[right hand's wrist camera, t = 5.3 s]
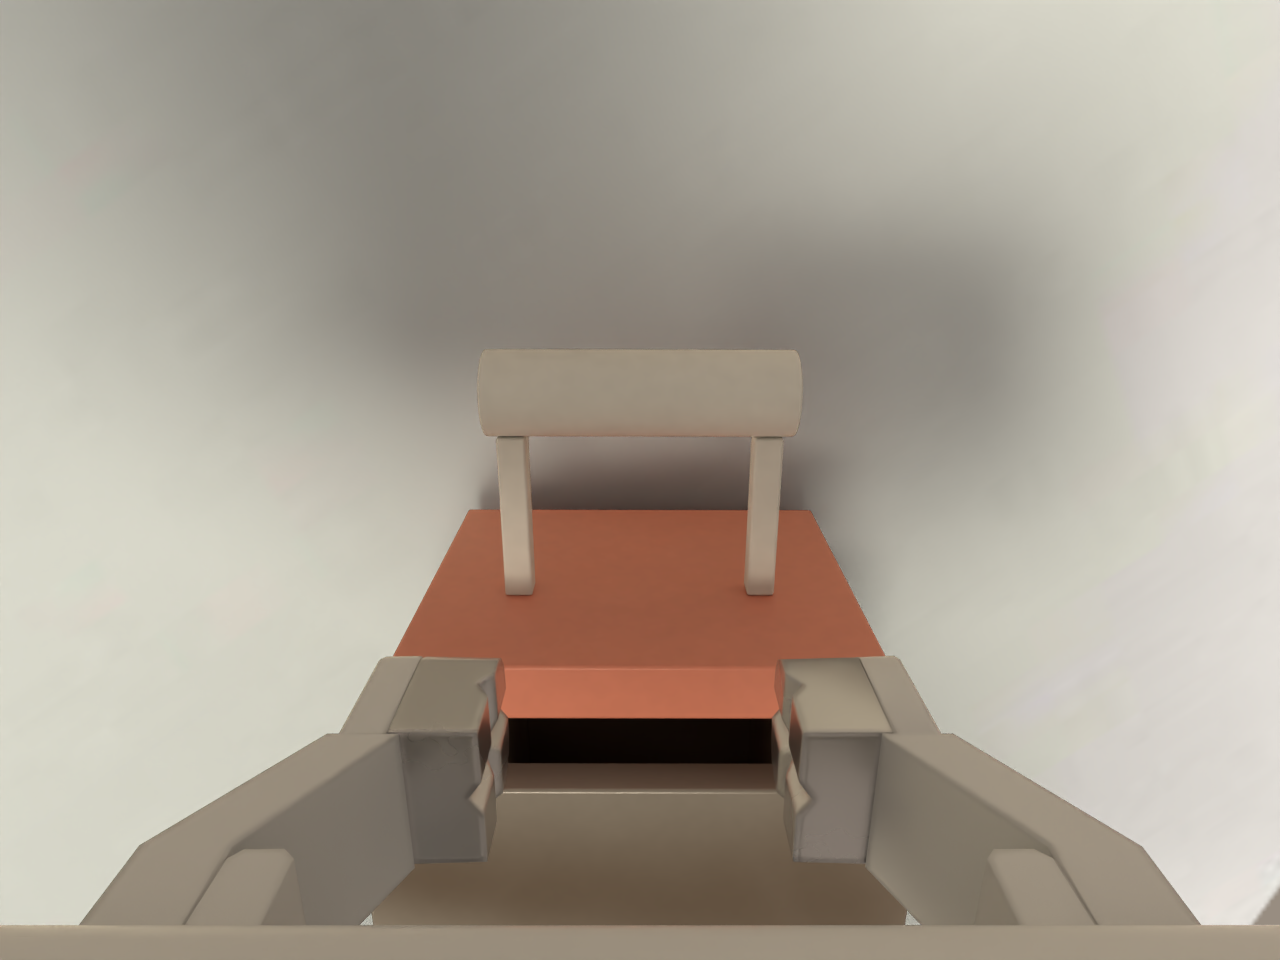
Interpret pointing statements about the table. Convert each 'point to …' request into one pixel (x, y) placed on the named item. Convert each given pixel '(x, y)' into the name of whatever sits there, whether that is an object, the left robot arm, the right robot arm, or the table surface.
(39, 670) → the table surface
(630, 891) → the wooden drawer cabinet
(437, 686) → the right robot arm
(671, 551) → the drawer
